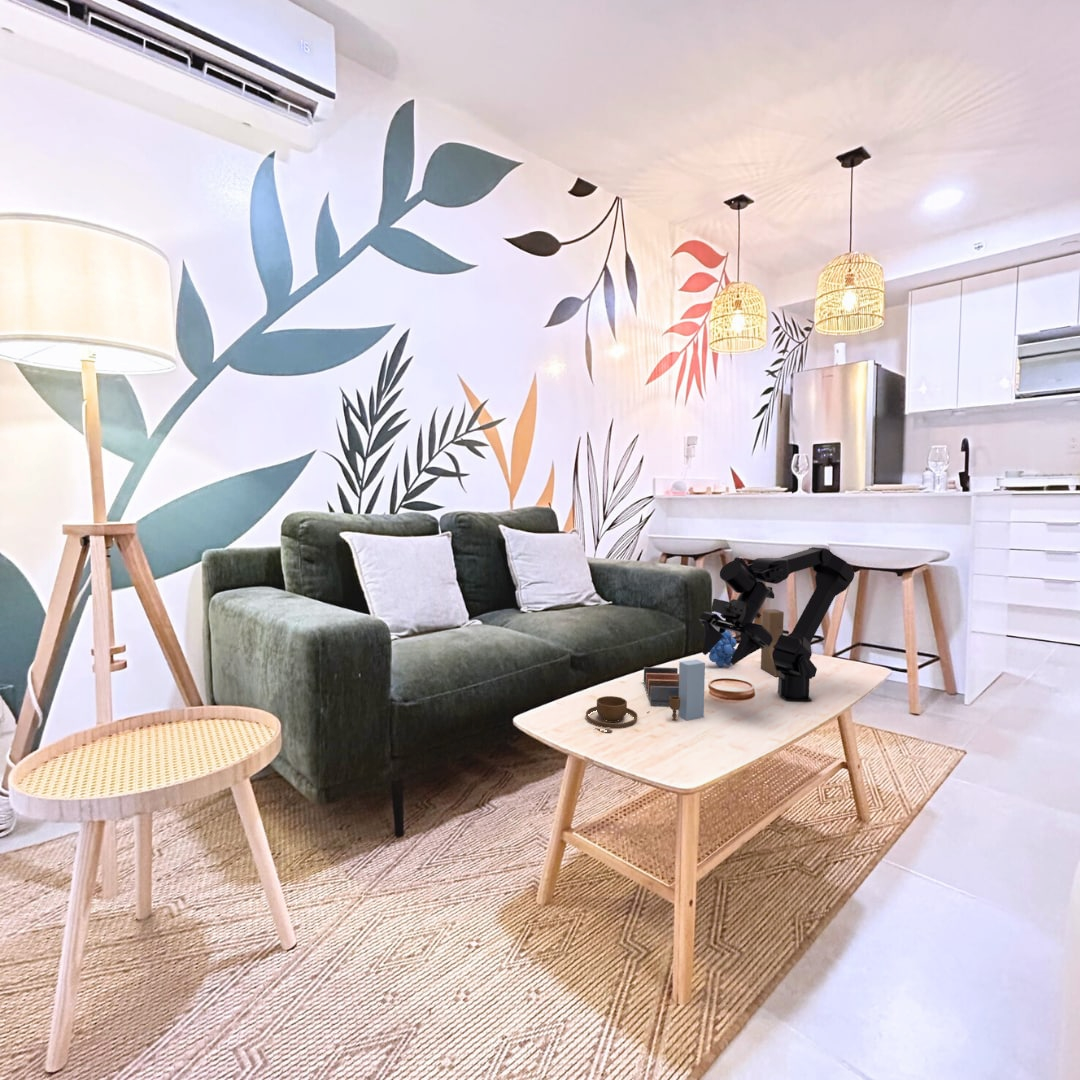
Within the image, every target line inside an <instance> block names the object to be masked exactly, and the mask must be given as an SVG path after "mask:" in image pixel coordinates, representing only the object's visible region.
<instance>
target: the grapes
mask: <svg viewBox="0 0 1080 1080" xmlns="http://www.w3.org/2000/svg"><path fill="white" fill-rule="evenodd" d="M722 635H723V637H722V638H721V639H720V640H719V641H718V643H717V644H716V645H715V646H714V647H713V648H712V649H711V651H710V652H709V653H708V658H709V661H711V662H712V663H715V664H716V666H717V667H719V668H722V667H724V666H725V665H727V666H730V665H732V663H731V662H730V661H731V659H732V656H733V654H734V652H735V650H736V648H735V647H736V646H737V645H738V644H737V640H736V639H735V638H734V637H732V636H733V635H732V631H730V630H726V631H725V632H724V633H722Z"/></svg>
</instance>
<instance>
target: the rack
mask: <svg viewBox="0 0 1080 1080" xmlns="http://www.w3.org/2000/svg"><path fill="white" fill-rule="evenodd" d="M642 681H644V683H643V686H644V685H645V686H644V688H646V689H645V691H647V692H646V695H647V694H648V695H647V698H648V697H649V698H648V701H649V704H650V706H651V707H668V708H669V707H670V705H669V698H670V697H671V696H677V697H679V668H678V667H655V666H651V667H649V666H648V667H647V666H644V667H643V680H642Z"/></svg>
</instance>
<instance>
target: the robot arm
mask: <svg viewBox="0 0 1080 1080" xmlns="http://www.w3.org/2000/svg"><path fill="white" fill-rule="evenodd" d="M808 568H811V570H812V571H813V572H814V573H815V576H814V581H815V589H814V590H813V592H812V595H811V596H810V598H809V600H808V602H807V604H806V605H805V608H804V610H803V611H802V613H801V615H800V617H799V618H798V620H797V623H796V624H795V625H794V627H793V630H792V631H791V632H790V633H789V634H788V635H785V634H783V635H781V636H780V637H779V638H778V641H777V643H776V644H775V645H774V646H773V648H774V650H773V653H772V657H773V661H774V665H775V669H776V671H780V672H781V677H777V678H778V681H777V684H778V685H777V687H778V688H777V694H778V695H779V696H780V697H781V698H782V699H783V700H785V701H789V702H791V701H792V702H793V701H794V702H812V698H811V697H810V680H811V679H813V678H815V677H816V676H817V675H816V674H817V670H818V669H817V667H816V665H815V664H814V663H813V662H812V661H811V658H812V654H813V651H812V647H811V645H812V643H811V642H812V641H813V639H814V637H815V635H816V633H817V631H818V630H819V628H820V626H821V624H822V622H823V620H824V618H825V616H826V614H827V612H828V610H829V609H830V607H831V604H832V603H833V601H834V599H835V598H836V596H838V595H839V594H841V593H843V592H845V591H846V590H847V589H848V587H849V586H850V584H851V583H852V582H853V580H854V578H855V570H854V569H853V566H852V565H851V564H850V563H848V562H847V561H846V560H844V559H842V557H839V556H837V555H836V554H834V553H833V552H832V551H831V550H830V549H828V548H826V547H817V546H811V547H809V548H808V549H806V550H805V549H804V550H802V551H797V552H795V553H792V554H791V553H790V554H788V555H784V556H780V557H758V558H754V559H753V561H752V562H751V563H749V564H747V562H746V561H745V559H743V558H742V557H737V556H736V557H734V559H733V560H732V561H729V562H727V563H726V564H725V565H724V566H722V567H721V569H720V571H719V578H720V579H721V580H722V581H723V582H724V583H725V584H726V585H727V586H728V587H729V588H730V589H732V590H733V591H734V592H735V594H736V593H737V594H739V595H738V596H737V598H736V599H734V598H732V599H731V600H730V601H728V600H723V599H717V598H713V599H712V600H713V601H712V604H711V608H710V611H704V612H702V614H701V615H700V617H699V619H698V620H699V621H700V622H701V625H702V626H703V627H704V631H705V632H704V641H703V646H702V652H701V653H702V654H703V655H704V656H707V655H709V654H710V653H709V652H710V651H711V649H712V648H713V647H714V646H715V645H716V644H717V643H718V641H719V640H720V639H721V638H722V637H723V635H722V633H724V632H725V631H726V630H728V631H730V632H733V633H738V634H740V641H739V642H738V644H737V645H736V646H737V647H736V648H735V649H736V650H735V652H734V654H733V656H732V659H731V661H730V662H731V665H735V664H737V663H739V662H741V660H743V659H745V658H746V657H748V656H750V655H751V654H753V653H754V652H756V651H758V650H761V649H763V648H764V647H763V646H766V647H769V646H770V644H771V642H772V635H771V634H770V633H769V632H768V631H767V630H766V629H765V628H764V627H763V626H762V624H759V623H755V622H754V621H755V619H760V617H761V616H762V614H760V610H761V608H762V606H763V604H764V603H765V602H766V600H767V598H768V599H775V593H774V591H773V587H771V586H767V585H766V584H765V583H768V584H774V585H777V584H778V585H779V584H780V583H782V582H784V581H786V579H788V578H789V576H790V574H793V573H797V572H799V571H802V570H805V569H808ZM714 612H715V613H714ZM717 613H718V614H720V616H719V615H718V614H717ZM722 618H723V619H722Z"/></svg>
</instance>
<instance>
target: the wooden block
mask: <svg viewBox="0 0 1080 1080" xmlns="http://www.w3.org/2000/svg"><path fill="white" fill-rule="evenodd" d="M784 613H785V612H784V611H781V610H779V609H776V608H773V609H771V608H769V609H762V614H761V616H762V618H761V619H762V621H761V625H762V626H763V627H764V628H765V629H766V630H767V631H768V632H769V633H770V634H771V635H772V642H771V644H770V646H769V647H766V646H763V647H764V648H763V649H760V651H761V653H760V654H761V655H760V669H761V670H764V671H765V672H767V673H769V674H770V675H772V676H774V677H775V678H779V677H781V672H780V671H776V669H775V665H774V661H773V657H772V653H773V650H774V648H773V646H774V645H775V644H776V643H777V641H778V638H779V637H780V636H781V635H784V619H785V618H784Z"/></svg>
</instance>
